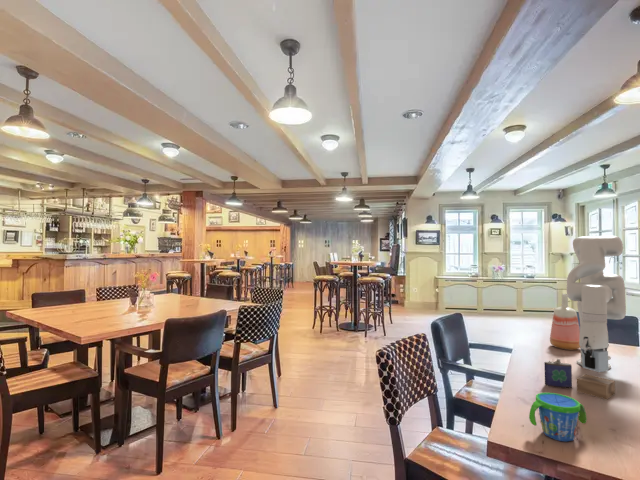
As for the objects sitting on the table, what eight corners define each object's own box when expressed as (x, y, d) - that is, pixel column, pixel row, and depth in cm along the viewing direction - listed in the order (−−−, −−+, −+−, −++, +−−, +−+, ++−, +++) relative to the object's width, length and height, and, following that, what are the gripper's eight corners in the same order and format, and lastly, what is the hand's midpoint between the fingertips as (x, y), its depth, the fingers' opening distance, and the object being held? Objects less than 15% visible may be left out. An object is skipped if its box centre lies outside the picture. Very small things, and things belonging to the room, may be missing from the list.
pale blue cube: (591, 365, 137) (591, 347, 137) (608, 370, 131) (607, 351, 132) (582, 367, 134) (582, 348, 135) (598, 372, 129) (598, 352, 130)
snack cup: (540, 445, 96) (540, 406, 96) (520, 426, 106) (519, 391, 107) (600, 446, 95) (599, 408, 96) (573, 427, 106) (573, 392, 106)
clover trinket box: (570, 386, 139) (570, 358, 139) (573, 389, 136) (573, 360, 136) (543, 384, 141) (543, 356, 141) (546, 386, 138) (545, 358, 139)
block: (586, 387, 139) (585, 374, 139) (615, 394, 132) (614, 380, 132) (576, 392, 134) (576, 378, 134) (606, 400, 126) (606, 385, 127)
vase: (588, 351, 188) (587, 295, 190) (561, 351, 189) (559, 295, 190) (569, 344, 203) (568, 292, 204) (544, 344, 203) (543, 292, 204)
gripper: (597, 315, 140) (598, 361, 140) (568, 317, 134) (569, 366, 133) (619, 318, 134) (620, 367, 133) (590, 321, 127) (591, 372, 126)
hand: (595, 366), depth 133 cm, fingers closed on pale blue cube, 5 cm apart
